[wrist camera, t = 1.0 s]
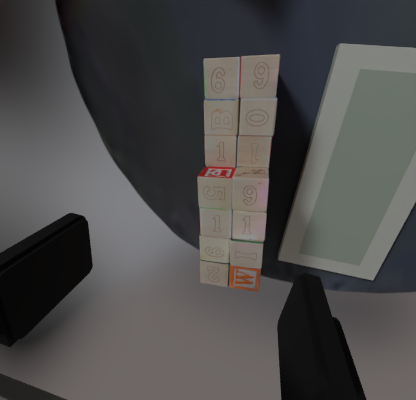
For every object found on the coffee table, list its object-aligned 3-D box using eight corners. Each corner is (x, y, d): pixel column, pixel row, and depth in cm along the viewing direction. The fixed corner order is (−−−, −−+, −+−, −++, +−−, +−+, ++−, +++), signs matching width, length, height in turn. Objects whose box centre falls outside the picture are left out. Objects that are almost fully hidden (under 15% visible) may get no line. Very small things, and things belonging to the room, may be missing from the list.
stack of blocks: (222, 70, 26) (192, 48, 15) (277, 68, 25) (287, 43, 14) (219, 227, 35) (199, 284, 24) (260, 231, 34) (258, 294, 23)
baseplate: (484, 55, 21) (496, 52, 20) (369, 274, 32) (373, 281, 31) (336, 46, 23) (340, 43, 22) (277, 255, 35) (278, 260, 33)
